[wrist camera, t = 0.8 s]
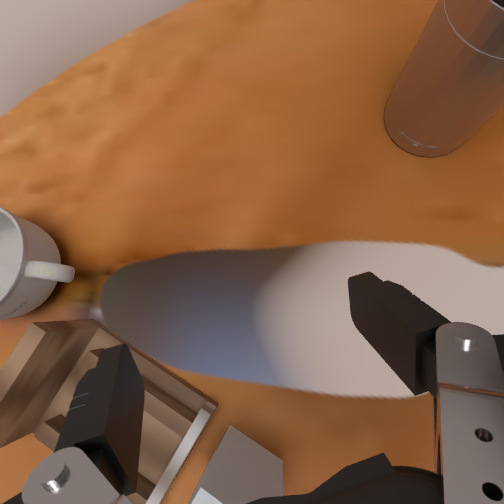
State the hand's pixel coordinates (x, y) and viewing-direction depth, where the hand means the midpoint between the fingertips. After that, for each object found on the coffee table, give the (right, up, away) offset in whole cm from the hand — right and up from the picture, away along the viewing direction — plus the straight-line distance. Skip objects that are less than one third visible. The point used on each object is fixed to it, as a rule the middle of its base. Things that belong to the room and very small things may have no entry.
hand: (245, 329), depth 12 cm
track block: (-13, -14, +22) cm, 29 cm away
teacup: (-23, 0, +26) cm, 35 cm away
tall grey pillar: (0, -17, +21) cm, 27 cm away
